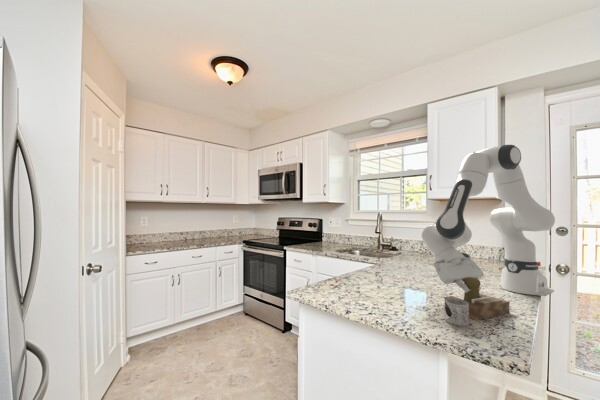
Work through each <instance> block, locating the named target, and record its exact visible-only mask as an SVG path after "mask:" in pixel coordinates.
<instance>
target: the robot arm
mask: <svg viewBox="0 0 600 400" xmlns="http://www.w3.org/2000/svg"><path fill="white" fill-rule="evenodd" d="M521 161H522V153H521V150H520V149H519V148H518V147H517V146H516V145H515V144H503V145H499V146H498V145H497V146H493V147H488V148H485V149H481V150H478V151H473V152H471V153H469V154H467V155H466V156H465V157H464V159H463V160H462V162H461V165H460V168H459V170H458V173H457V177H456V180H455V184H454V186H453V188H452V191H451V193H450V197H449V198H448V201H447V205H446V207H445V209H444V210H443V212H442V213H441V214H440V215H439V217H438V218H437V219H436V221H435V222H436V223H435V224H431V225H427V226H426V227H425V228H424V229H423V230H422V231H421V239H422V241H423V242H424V244H425V246H426V248H427V249H428V251H429V252H430V253H432V254H433V256H434V258H435V260H434V262H433V267H434V268H435V272H436V274H437V275H438V276H437V277H439V279H440V280H441V282H442V283H443V284H444V285H449V284H455V285H457V286H458V287H459V288H461V289H462V290H463V291H464V293H465V292H466V293H468V292H470V291H471V289H470V287H468V286H466V285H465V284H464V279H465V278H467V277H473V278H477V279H478V280H479V281H480V280H481V279H482V278H483V277H484V275H485V274H484V272H483V270H482V269H481V268H480V266H479V265H478V264H477V263H476V261H474V260H473V259H472V256H471V255H470V254H469V253H466V252H463V251H460V250H457V249H456V248H458V247H461V246H464V245H466V244H467V243H469V242H470V241H471V239H472V230H471V228H470V227H469V226H468V225H467V223H466V221H465V218H464V213H465V210H466V207H467V203H468V201H469V198H470V197H475V196H478V195H480V194H482V193H483V192H484V189H485V187H486V184H487V182H488V177H489V174H490V173H492V178H493V182H494V184H495V185H494V186H495V189H496V193H497V196H498V199H500V201H502V202H504V203H506V204H508V205H510V206H509V207H508V206H507V207H505V206H504V207H500V208H494V209H493V210H492V211H491V212H490V214H489V221H490V223H491V225H492V226H493V227H494V228H495V229H497V231H498V232H499V233H500V235H501V237H502V239H503V242H504V252H505V253H504V254H505V255H504V256H505V257H504V261H503V263H504V264H503V265H504V268H502V270H501V277H500V282H498V286H499V287H501V289H503V290H505V291H509V292H513V293H517V294H522V295H523V294H524V295H532V296H541V297H542V296H543V297H547V296H549V295H550V294H553V293H555V289H554V288H551V287H548V278H547V277H546V276H545V275H544V274H543V273H541V272H540V270H539V267H541V265H542V264H541V261H537V258H536V256H537V255H536V245H535V243H534V242H533V241H532V240H530V239H528V238H527V237H526V236H525V235H524V233H523V232H524V231H525V232H544V231H549V230H551V229H552V228H553V227H554V224H555V222H556V217H555V215H554V213H553V212H552V211H551V210H550V209H548V208H546V207H545V206H543V205H541V204H540V203H538V201H536V200H535V199H534V198H533V197H532V195H531V194H530V192H529V190H528V187H527V186H528V185H527V184H526V181H525V177H524V174H523V170H522V168H521V166H520V163H521ZM481 289H482V287H481V286H480V287H479V291H481Z"/></svg>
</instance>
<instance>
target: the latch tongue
mask: <svg viewBox="0 0 600 400" xmlns="http://www.w3.org/2000/svg"><path fill="white" fill-rule="evenodd" d="M491 297H492V296H491ZM491 297H482V298H476V299H471V300H472V303H475V301H477V300H483V299H489V298H491Z"/></svg>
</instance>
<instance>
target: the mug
mask: <svg viewBox="0 0 600 400" xmlns="http://www.w3.org/2000/svg"><path fill="white" fill-rule="evenodd" d="M463 300H464V299H463ZM463 300H459V299H446V300H445V299H444V310H445V312H444V314H445V315H444V316H445V322H446V323H448V324H449V325H452V326H455V327H462V328H463V327H464V328H465V327H468V326H469V325H470V324H469V323H470V319H469V303H468V302H466V301H463Z"/></svg>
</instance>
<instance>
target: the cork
mask: <svg viewBox="0 0 600 400" xmlns="http://www.w3.org/2000/svg"><path fill="white" fill-rule="evenodd" d="M463 283H464V284H465V285H466V286H468V287H470V289H471V291H470V292H468V293H466V292H465V291H464V294H463V300H466V301H469V302H472V300H471V299H476V298H480V294H479V293H480V290H479V287H480V288H481V281H480V279H479V280H478V279H477V278H473V277H467V278H465V279H464V282H463Z"/></svg>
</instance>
